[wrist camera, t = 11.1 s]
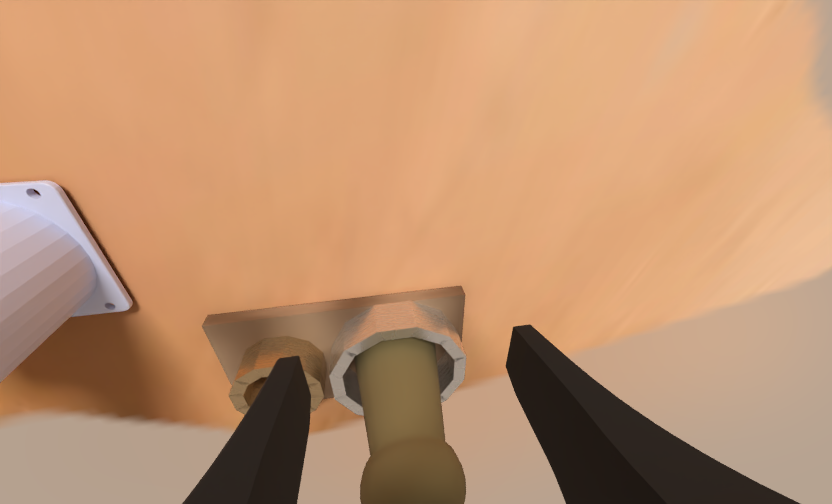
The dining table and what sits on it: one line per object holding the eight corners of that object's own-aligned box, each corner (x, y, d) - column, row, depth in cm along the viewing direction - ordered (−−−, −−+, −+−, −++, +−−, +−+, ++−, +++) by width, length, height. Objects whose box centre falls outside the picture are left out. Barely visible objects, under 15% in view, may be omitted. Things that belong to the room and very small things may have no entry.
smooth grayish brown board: (248, 399, 26) (244, 411, 25) (207, 315, 21) (201, 326, 20) (455, 368, 28) (458, 378, 27) (461, 285, 23) (465, 294, 23)
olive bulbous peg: (439, 361, 26) (487, 535, 17) (365, 380, 26) (371, 567, 16) (427, 304, 22) (478, 483, 13) (341, 326, 22) (332, 523, 13)
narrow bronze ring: (254, 395, 24) (245, 427, 22) (230, 342, 21) (217, 374, 19) (331, 383, 25) (328, 414, 23) (318, 331, 22) (314, 361, 20)
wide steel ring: (342, 396, 26) (341, 426, 24) (323, 311, 21) (320, 339, 19) (453, 379, 27) (461, 407, 25) (459, 294, 22) (469, 320, 20)
